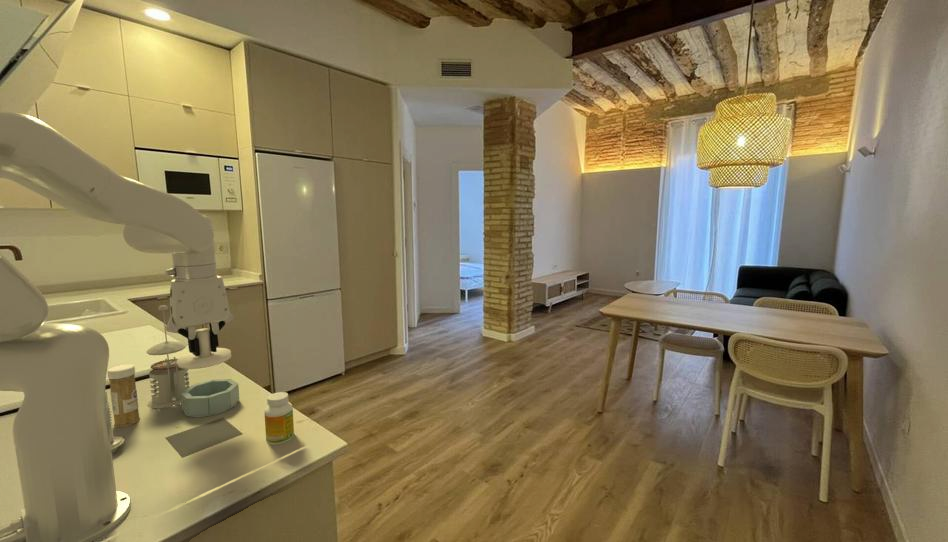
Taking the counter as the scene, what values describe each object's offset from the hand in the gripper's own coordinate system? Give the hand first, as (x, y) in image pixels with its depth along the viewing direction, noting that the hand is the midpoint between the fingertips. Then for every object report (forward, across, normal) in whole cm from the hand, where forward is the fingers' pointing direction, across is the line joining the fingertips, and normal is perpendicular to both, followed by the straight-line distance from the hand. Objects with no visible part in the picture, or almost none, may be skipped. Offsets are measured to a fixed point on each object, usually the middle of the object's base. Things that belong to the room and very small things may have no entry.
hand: (204, 352), depth 88 cm
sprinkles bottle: (+17, -13, +13) cm, 25 cm away
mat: (+17, -3, -6) cm, 18 cm away
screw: (+17, -18, +1) cm, 24 cm away
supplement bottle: (+17, +7, -19) cm, 26 cm away
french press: (+17, -3, +20) cm, 26 cm away
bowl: (+17, +2, +8) cm, 19 cm away
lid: (+2, 0, 0) cm, 2 cm away
